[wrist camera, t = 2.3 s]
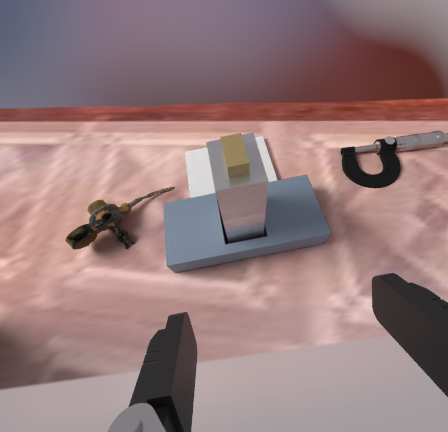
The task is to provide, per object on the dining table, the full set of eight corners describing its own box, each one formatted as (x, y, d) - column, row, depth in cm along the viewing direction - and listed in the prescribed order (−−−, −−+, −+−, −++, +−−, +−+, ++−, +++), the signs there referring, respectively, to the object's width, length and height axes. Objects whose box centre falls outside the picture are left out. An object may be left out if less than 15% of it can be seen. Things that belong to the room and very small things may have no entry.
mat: (191, 203, 33) (190, 201, 32) (185, 154, 37) (184, 151, 36) (278, 186, 33) (278, 184, 32) (262, 138, 37) (262, 135, 36)
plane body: (174, 272, 29) (166, 265, 26) (170, 214, 32) (163, 203, 30) (324, 243, 28) (331, 233, 26) (302, 188, 32) (307, 174, 29)
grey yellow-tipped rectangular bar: (230, 249, 29) (212, 181, 17) (223, 214, 32) (203, 131, 19) (262, 243, 29) (269, 170, 17) (253, 208, 31) (253, 120, 19)
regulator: (162, 176, 37) (61, 226, 31) (162, 163, 33) (48, 218, 28) (189, 216, 36) (90, 275, 31) (192, 207, 32) (80, 272, 27)
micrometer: (349, 193, 31) (357, 181, 29) (334, 151, 35) (339, 138, 33) (470, 178, 31) (487, 165, 28) (442, 137, 34) (455, 123, 32)
